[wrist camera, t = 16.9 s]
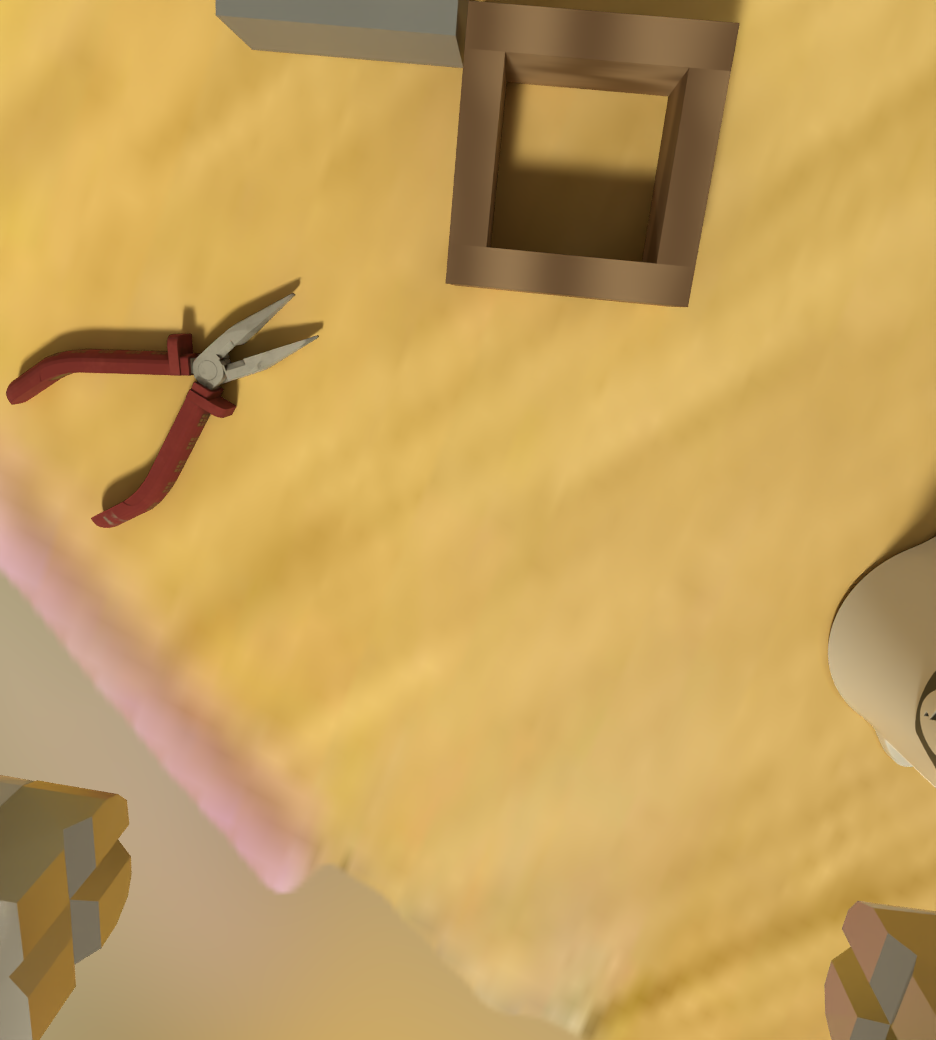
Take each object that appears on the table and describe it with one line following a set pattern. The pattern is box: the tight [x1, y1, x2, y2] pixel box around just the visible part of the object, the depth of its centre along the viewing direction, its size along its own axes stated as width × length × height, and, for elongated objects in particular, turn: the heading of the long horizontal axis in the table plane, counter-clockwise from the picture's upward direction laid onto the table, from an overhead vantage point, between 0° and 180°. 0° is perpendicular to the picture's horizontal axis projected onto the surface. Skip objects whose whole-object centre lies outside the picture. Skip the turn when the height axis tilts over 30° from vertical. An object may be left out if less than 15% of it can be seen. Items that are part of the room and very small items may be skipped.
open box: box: [446, 1, 739, 307], centre depth 38 cm, size 13×13×5 cm
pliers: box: [6, 293, 319, 528], centre depth 45 cm, size 12×20×3 cm, turn 118°
